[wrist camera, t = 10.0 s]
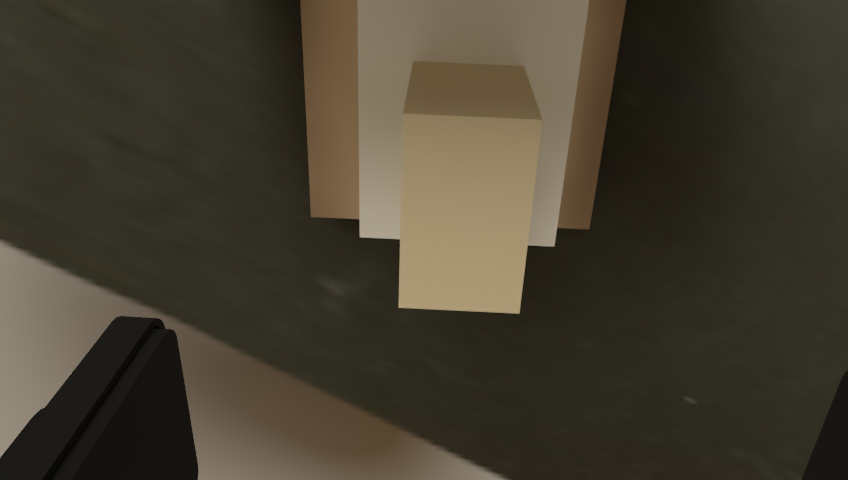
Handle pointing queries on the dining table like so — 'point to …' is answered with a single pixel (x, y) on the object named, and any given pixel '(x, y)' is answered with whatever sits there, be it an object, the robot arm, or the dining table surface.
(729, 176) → the dining table surface
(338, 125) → the wooden l-shaped stand
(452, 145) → the beige and white blocks
